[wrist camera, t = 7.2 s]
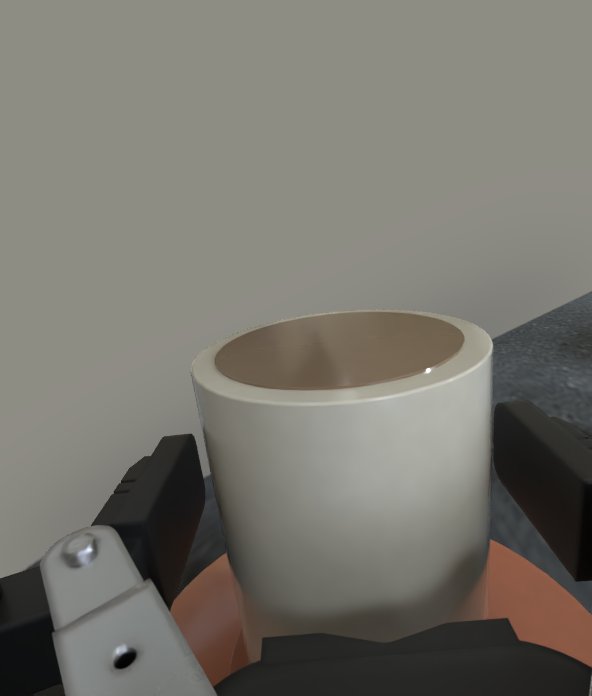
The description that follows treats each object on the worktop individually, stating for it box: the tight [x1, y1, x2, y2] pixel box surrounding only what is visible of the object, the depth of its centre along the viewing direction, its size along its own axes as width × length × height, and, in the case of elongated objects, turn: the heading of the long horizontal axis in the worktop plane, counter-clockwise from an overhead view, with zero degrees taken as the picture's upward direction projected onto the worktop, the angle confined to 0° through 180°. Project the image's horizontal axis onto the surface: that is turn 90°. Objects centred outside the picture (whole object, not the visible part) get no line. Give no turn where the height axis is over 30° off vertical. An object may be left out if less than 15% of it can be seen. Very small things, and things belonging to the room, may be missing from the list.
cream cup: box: [191, 309, 494, 665], centre depth 11 cm, size 6×6×9 cm
